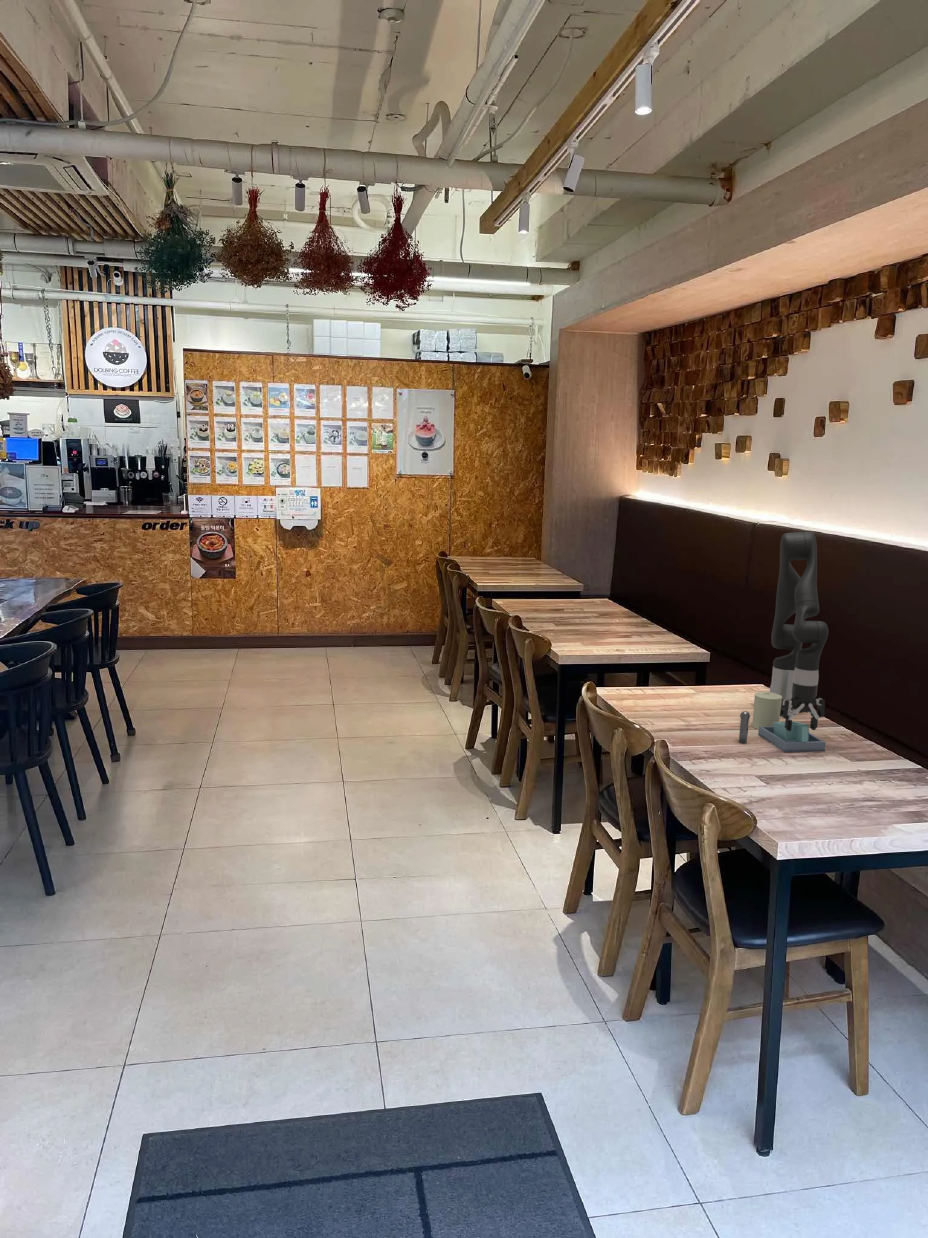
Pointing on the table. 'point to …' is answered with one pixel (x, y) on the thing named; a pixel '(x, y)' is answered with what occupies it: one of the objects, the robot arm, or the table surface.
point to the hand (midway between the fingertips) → (800, 729)
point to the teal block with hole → (792, 731)
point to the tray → (791, 741)
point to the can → (766, 709)
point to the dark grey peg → (744, 726)
